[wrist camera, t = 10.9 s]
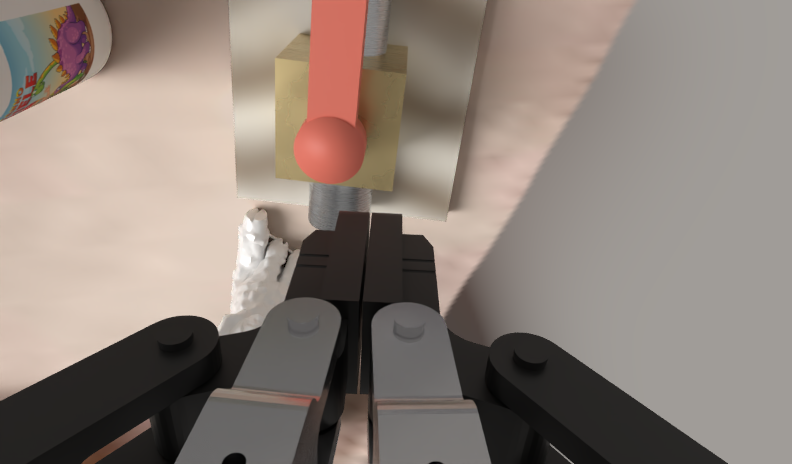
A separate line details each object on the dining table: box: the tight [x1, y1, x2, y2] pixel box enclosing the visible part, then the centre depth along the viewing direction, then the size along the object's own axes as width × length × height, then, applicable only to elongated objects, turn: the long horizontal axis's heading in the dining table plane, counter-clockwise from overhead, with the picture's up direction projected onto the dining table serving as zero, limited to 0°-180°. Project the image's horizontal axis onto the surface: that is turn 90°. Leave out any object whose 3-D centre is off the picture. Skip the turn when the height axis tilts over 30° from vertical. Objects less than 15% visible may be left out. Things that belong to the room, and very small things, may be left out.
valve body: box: [275, 0, 408, 231], centre depth 33 cm, size 17×7×7 cm, turn 174°
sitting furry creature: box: [217, 208, 300, 336], centre depth 40 cm, size 10×9×12 cm
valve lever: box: [294, 0, 369, 184], centre depth 25 cm, size 15×4×3 cm, turn 173°
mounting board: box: [228, 0, 487, 222], centre depth 37 cm, size 18×16×2 cm
